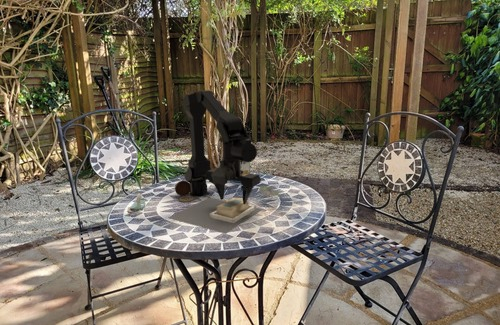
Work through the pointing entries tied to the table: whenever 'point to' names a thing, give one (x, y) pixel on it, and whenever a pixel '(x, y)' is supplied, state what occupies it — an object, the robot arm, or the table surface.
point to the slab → (232, 208)
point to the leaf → (267, 191)
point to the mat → (213, 216)
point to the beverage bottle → (246, 170)
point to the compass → (184, 191)
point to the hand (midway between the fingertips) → (233, 201)
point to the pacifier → (137, 204)
